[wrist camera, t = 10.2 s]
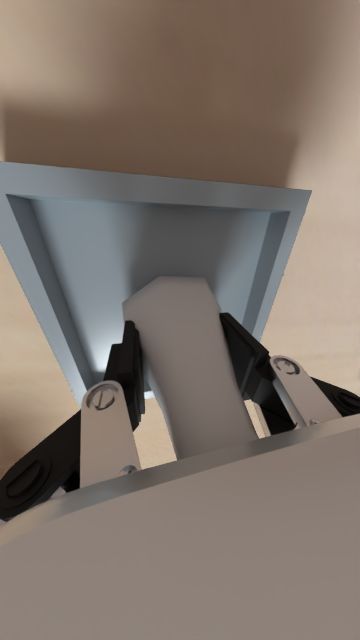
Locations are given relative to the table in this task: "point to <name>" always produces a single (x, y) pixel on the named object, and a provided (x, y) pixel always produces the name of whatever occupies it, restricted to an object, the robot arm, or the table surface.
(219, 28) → the table surface
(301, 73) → the table surface
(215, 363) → the flask
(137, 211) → the tray
